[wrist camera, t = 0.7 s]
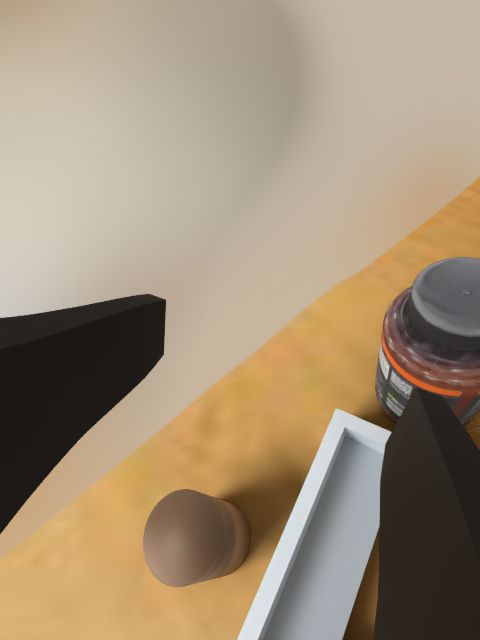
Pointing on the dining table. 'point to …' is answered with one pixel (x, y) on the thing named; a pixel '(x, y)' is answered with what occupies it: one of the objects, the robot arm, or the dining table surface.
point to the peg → (194, 538)
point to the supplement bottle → (433, 340)
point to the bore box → (324, 539)
